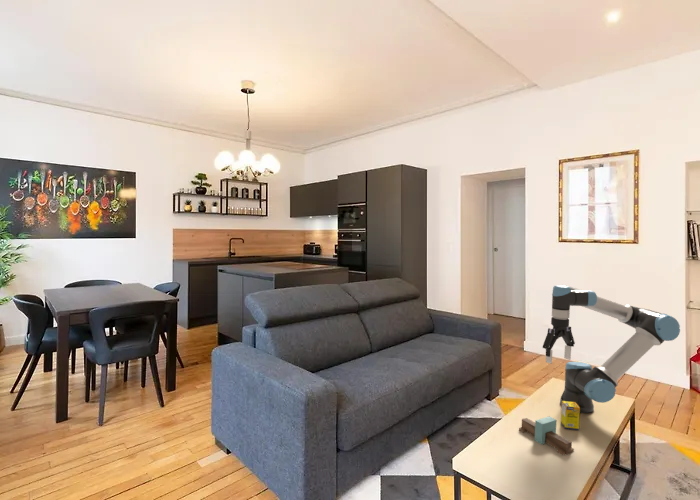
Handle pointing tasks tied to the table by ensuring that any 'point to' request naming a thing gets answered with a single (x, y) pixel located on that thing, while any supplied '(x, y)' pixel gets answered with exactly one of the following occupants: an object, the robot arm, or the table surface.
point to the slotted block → (544, 428)
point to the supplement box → (570, 415)
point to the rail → (549, 437)
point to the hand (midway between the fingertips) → (558, 360)
